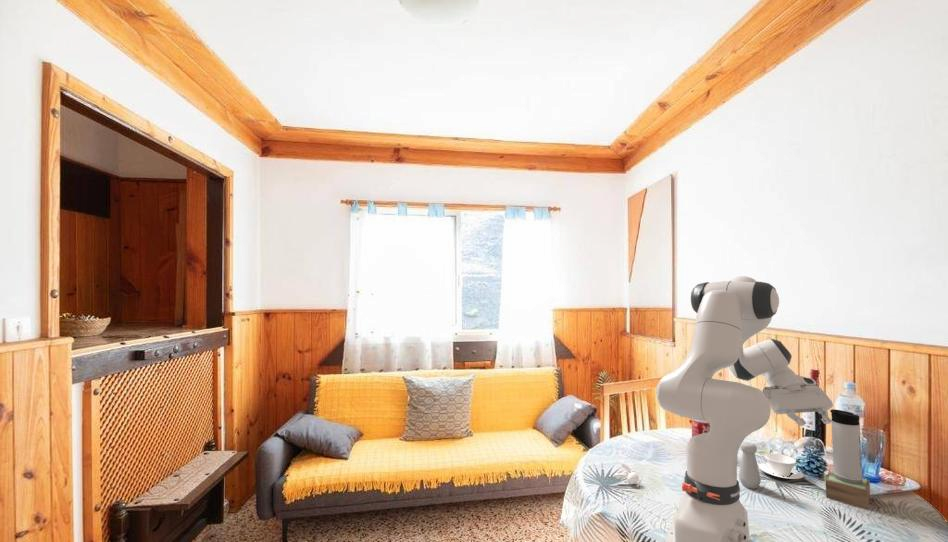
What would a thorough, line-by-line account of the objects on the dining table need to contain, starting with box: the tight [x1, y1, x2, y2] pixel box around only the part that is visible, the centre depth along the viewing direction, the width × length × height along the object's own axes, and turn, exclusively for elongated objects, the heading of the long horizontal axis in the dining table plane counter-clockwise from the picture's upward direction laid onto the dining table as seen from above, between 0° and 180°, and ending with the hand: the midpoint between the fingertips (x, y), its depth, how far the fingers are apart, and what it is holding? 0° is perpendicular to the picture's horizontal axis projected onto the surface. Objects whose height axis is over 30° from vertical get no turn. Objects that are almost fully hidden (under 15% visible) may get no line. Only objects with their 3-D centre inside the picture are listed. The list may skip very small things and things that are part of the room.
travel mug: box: [829, 408, 863, 484], centre depth 121 cm, size 6×7×20 cm
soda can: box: [691, 419, 710, 438], centre depth 155 cm, size 7×7×12 cm
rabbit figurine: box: [613, 460, 642, 488], centre depth 131 cm, size 6×4×8 cm
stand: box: [825, 470, 871, 510], centre depth 121 cm, size 9×9×5 cm
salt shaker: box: [738, 441, 762, 490], centre depth 129 cm, size 6×6×13 cm
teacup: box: [758, 453, 805, 480], centre depth 136 cm, size 12×12×5 cm
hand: (815, 423), depth 131 cm, fingers open, 8 cm apart
